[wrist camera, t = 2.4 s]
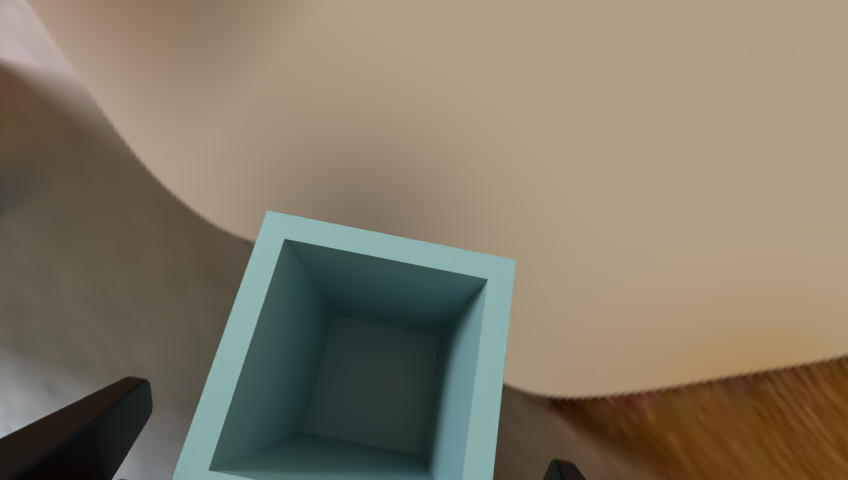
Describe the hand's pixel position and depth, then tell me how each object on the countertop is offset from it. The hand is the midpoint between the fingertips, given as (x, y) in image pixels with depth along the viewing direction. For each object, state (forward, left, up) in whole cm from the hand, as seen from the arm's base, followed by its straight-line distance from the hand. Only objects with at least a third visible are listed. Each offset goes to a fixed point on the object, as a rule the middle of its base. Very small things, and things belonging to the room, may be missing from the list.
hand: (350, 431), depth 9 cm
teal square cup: (+1, -1, -9) cm, 9 cm away
